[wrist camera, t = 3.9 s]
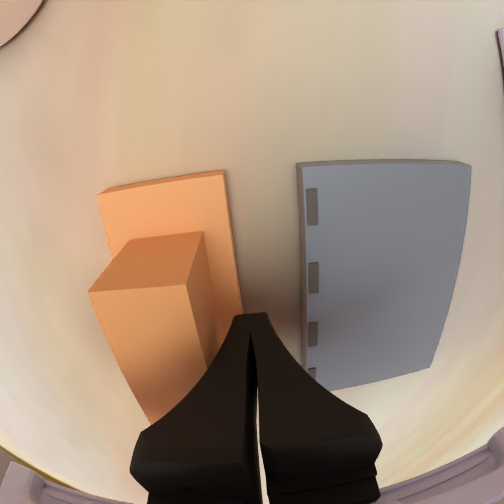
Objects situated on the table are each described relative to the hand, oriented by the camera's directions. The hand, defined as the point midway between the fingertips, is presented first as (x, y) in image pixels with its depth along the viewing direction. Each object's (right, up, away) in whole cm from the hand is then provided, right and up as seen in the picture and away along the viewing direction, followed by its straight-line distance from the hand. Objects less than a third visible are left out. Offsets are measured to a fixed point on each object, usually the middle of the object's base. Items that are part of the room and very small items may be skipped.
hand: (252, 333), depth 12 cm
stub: (-3, +1, +2) cm, 4 cm away
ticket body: (+6, +2, +2) cm, 7 cm away
